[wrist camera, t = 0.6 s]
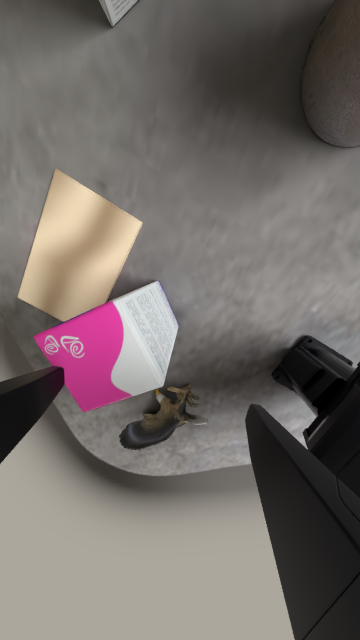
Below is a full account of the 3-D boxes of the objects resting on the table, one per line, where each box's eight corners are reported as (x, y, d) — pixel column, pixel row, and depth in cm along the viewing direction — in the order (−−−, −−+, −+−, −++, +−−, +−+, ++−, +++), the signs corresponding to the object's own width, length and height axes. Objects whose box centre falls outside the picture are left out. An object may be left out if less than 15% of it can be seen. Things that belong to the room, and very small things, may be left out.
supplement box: (158, 277, 20) (118, 297, 9) (180, 325, 22) (168, 392, 11) (112, 298, 21) (27, 338, 10) (136, 342, 22) (84, 419, 12)
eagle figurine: (153, 362, 22) (110, 418, 23) (183, 412, 17) (126, 483, 17) (191, 375, 27) (155, 421, 28) (224, 417, 22) (178, 472, 22)
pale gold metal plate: (142, 223, 18) (142, 222, 18) (91, 334, 22) (89, 335, 22) (58, 170, 17) (55, 168, 17) (20, 296, 21) (17, 297, 21)
